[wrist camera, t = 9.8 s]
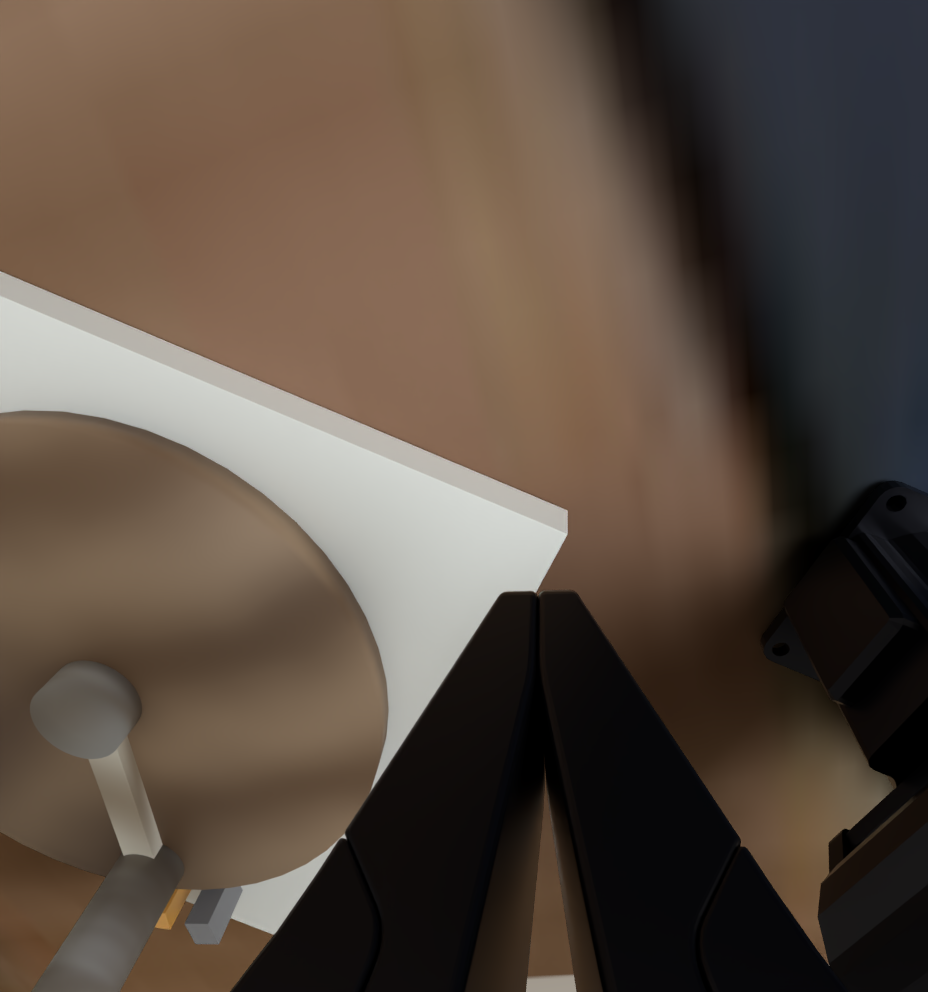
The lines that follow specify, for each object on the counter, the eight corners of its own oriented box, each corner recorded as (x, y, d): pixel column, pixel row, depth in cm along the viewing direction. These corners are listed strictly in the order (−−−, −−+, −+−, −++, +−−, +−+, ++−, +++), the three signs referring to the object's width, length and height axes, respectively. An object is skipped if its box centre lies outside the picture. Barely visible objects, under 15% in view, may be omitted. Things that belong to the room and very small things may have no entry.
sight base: (567, 510, 21) (567, 574, 17) (346, 924, 31) (320, 1015, 28) (-168, 200, 20) (-317, 206, 16) (-145, 735, 30) (-235, 805, 26)
